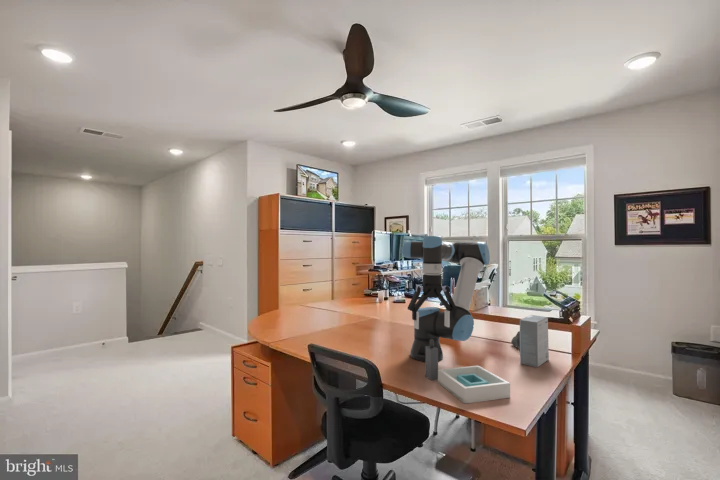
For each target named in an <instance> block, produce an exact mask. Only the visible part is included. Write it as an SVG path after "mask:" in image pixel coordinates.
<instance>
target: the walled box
mask: <svg viewBox="0 0 720 480" xmlns="http://www.w3.org/2000/svg"><path fill="white" fill-rule="evenodd" d="M437 383H438V384H439V385H440V386H442V387H443V388H444V389H445V390H446V391H448V392H449V393H450V394H452V395H453V396H454V397H455V398H456V399H459V400H460V401H461V402H462V404H473V403H474V404H475V403H479V402H480V403H481V402H488V401H494V400H502V399H510V398H511V382H509V381H507V380H505V379H504V378H502V377H500V376H498V375H497V374H494V373H493V372H491V371H490V370H487V369H485V368H484V367H482V366H480V365H470V366H461V367H449V368H441V369H439V368H438V380H437Z"/></svg>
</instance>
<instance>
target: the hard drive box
mask: <svg viewBox="0 0 720 480" xmlns="http://www.w3.org/2000/svg"><path fill="white" fill-rule="evenodd" d="M519 331H520V349H519V363H520V364H521V365H526V366H530V367H535V368H539V367H540V366H541V365H543V364H544V363H546V362H547V361H548V360H549V358H550V355H549V353H550V352H549V348H550V347H549V318H548V316H544V315H543V316H542V315H534V314H530V315H528V316H526V317H522V318H521V319H519Z"/></svg>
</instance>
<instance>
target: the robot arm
mask: <svg viewBox="0 0 720 480" xmlns="http://www.w3.org/2000/svg"><path fill="white" fill-rule="evenodd" d="M401 251H402V255H403V257H404V258H406V259H422V273H423V275H422V287H421V286H418V285H416V286H415V287H414V293H413V295H412V297H411V299H410V302H409V304H408V306H407V310H409V311H411V318H412V319H411V320H412V321H413V328H414V329H413V330H414V331H413V334H414V335H413V336H414V337H413V338H414V339H413V342H412V346H411V348H410V352H409V353H410V357H411V358H412V359H413V360H416V361H420V362H426V346H430V339H432V340H434V347H436V348H438V362H440V361H442V360H443V358H444V353H443V349H442V346H441V343H440V338H442V339H447V340H453V341H457V342H459V341H460V342H465V341H467V340H469V338H471V337H472V334H473V332H474V325H475V321H474V317H473V316H472V313H471V311H470V308H471V303H472V300H473V296H474V293H475V289H476V285H477V282H478V281H477V280H478V277H479V272H481V271H483V269H484V266H487V265H489V263H490V262H491V261H490V257H491V256H490V255H491V254H490V249H489V246H488V244H487V243H486V242H485V241H453V242H448V241H447V240H445V241H443V238H442V236H441V235H426V236H424V237H423V238H422V241H405V242H404V243H403V245H402V250H401ZM443 262H447V263H452V264H459V265H460V270H459V275H458V279H457V281H456V284H455V288H454V290H453V291H454V292H453V295H452V294H451V293H450V287H449V286H448V285H443V286H442V283H443V281H442V280H443V279H442V278H443V276H442V273H443V271H442V269H443ZM422 292H423V293H422ZM441 292H443V293H444V295H443V294H442V293H441ZM421 293H422V294H421ZM420 294H421V296H420ZM444 296H445V297H444ZM431 298H432V299H433V298H437V299H438V300H439V302H440V303H441V304H442V306H444V308H445V309H444V311H440V310H441V309H440V308H439V307H438V306H437V307H436V306H427V307H422V305H423V304H424V303H425V301H426V300H428V299H431ZM445 298H446V299H445Z"/></svg>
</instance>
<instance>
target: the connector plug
mask: <svg viewBox="0 0 720 480" xmlns="http://www.w3.org/2000/svg"><path fill="white" fill-rule="evenodd" d="M438 369H439V361H438V348H436V347H434V340H432V339H430V346H426V361H425V377H426V378H427V379H429V381H436V380H437V381H438Z"/></svg>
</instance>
